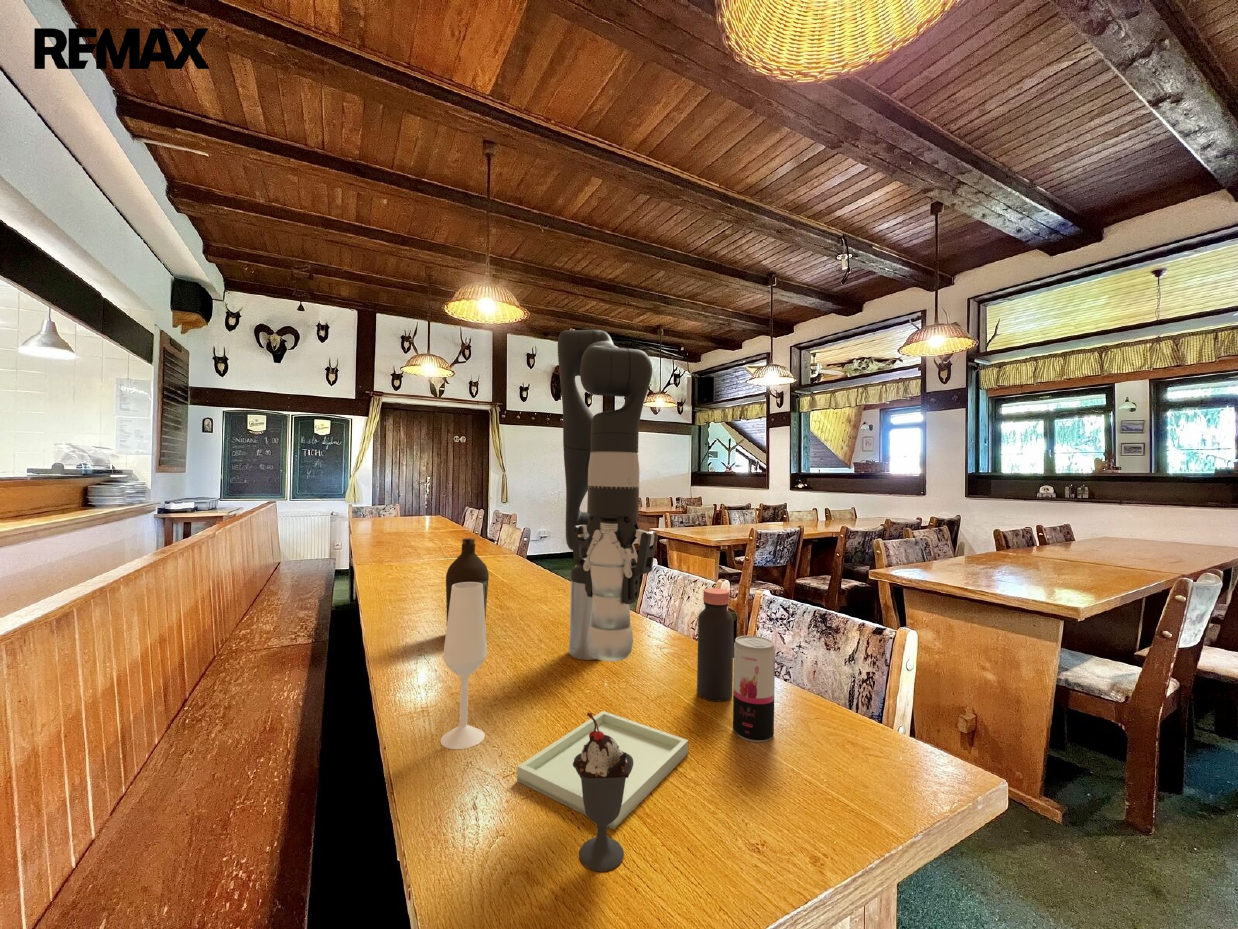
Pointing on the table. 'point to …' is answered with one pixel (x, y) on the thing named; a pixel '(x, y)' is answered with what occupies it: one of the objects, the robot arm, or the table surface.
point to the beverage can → (754, 688)
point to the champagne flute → (465, 653)
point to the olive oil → (467, 571)
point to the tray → (642, 743)
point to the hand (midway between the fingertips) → (610, 599)
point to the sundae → (602, 796)
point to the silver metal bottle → (608, 600)
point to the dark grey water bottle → (715, 647)
